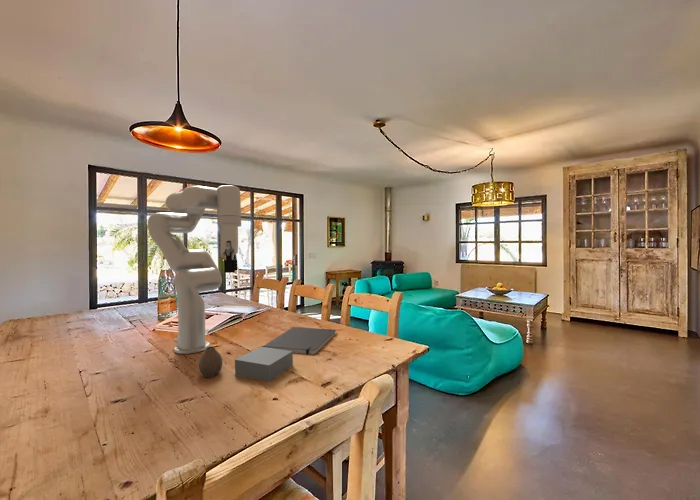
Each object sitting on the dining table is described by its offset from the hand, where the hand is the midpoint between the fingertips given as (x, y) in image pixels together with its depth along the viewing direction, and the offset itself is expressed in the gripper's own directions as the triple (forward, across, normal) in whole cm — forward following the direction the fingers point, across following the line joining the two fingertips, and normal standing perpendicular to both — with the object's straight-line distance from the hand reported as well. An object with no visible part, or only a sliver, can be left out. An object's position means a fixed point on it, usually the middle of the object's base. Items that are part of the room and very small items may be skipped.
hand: (231, 271), depth 109 cm
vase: (+32, +8, -6) cm, 34 cm away
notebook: (+33, -18, +26) cm, 45 cm away
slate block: (+32, +10, +10) cm, 35 cm away
